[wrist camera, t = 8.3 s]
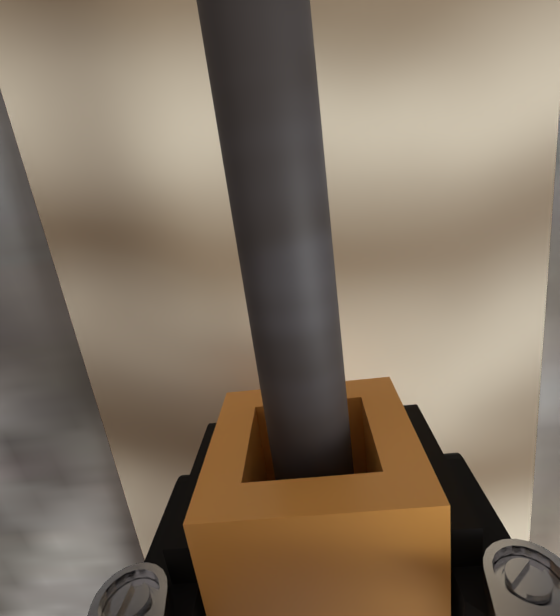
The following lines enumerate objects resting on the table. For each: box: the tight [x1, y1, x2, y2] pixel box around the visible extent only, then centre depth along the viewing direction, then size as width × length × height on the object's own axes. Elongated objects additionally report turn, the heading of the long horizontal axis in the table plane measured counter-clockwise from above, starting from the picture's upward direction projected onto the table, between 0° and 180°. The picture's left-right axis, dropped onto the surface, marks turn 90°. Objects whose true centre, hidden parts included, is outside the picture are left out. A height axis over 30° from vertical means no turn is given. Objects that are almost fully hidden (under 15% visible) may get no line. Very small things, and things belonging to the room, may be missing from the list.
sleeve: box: [183, 377, 451, 616], centre depth 9 cm, size 5×4×4 cm
